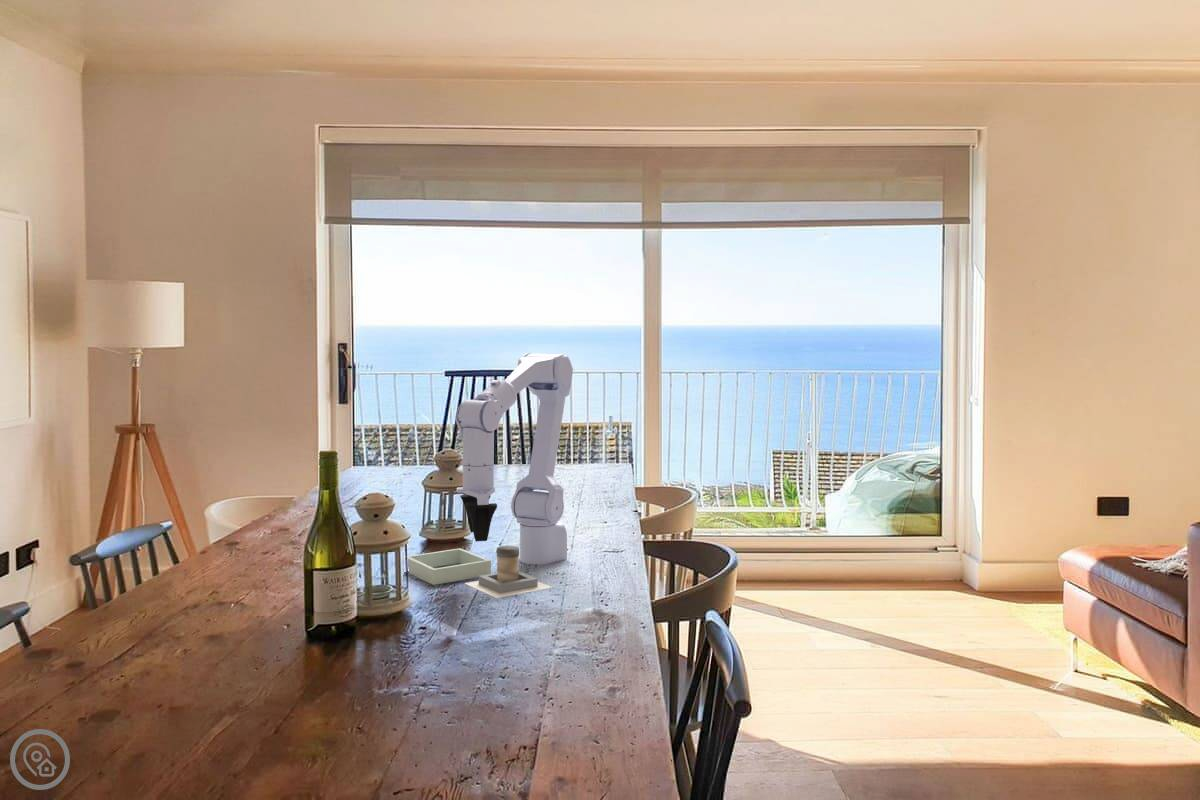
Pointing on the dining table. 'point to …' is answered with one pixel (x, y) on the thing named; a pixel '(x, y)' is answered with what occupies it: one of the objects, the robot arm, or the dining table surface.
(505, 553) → the strut
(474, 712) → the dining table surface
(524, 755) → the dining table surface
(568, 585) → the dining table surface
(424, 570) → the bin
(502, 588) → the square socket plate
